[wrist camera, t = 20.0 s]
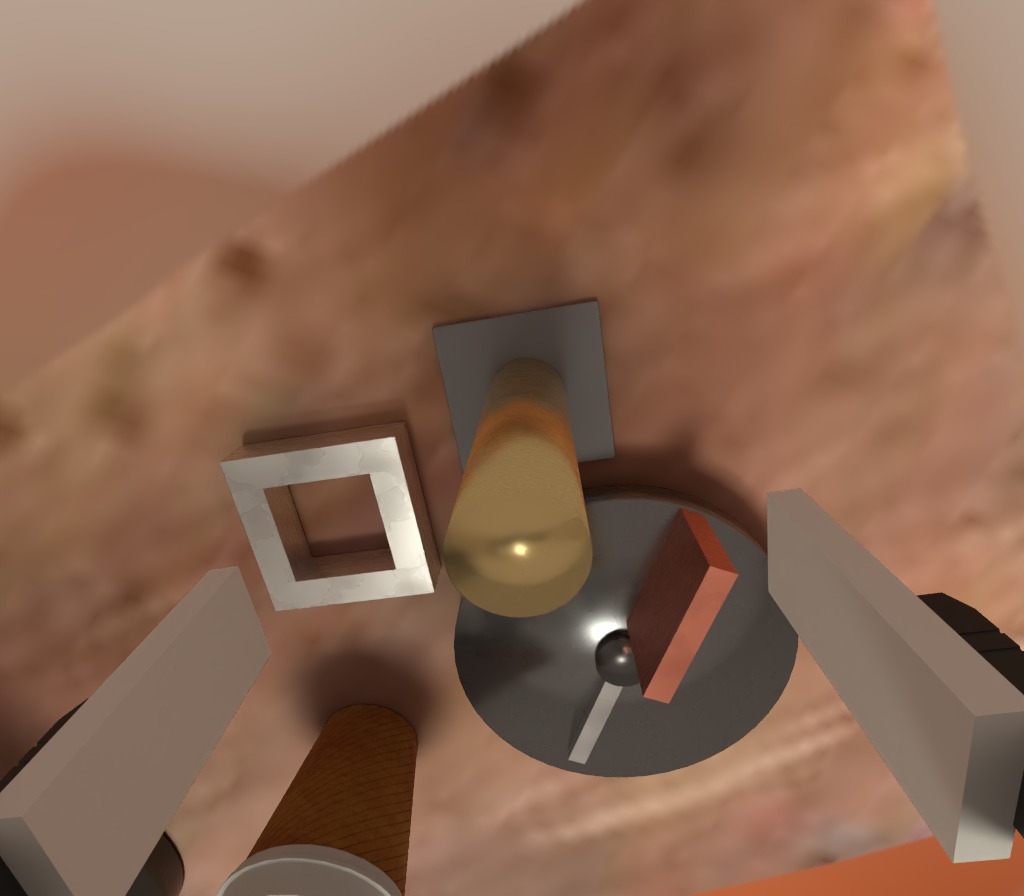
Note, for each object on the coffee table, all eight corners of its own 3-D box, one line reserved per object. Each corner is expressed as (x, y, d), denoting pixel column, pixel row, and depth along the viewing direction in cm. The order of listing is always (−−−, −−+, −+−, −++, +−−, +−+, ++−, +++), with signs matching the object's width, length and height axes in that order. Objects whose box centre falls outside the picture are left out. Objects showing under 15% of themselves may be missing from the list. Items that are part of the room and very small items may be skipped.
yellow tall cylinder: (495, 435, 29) (458, 623, 15) (483, 363, 28) (429, 497, 14) (569, 425, 29) (600, 609, 15) (560, 351, 28) (583, 478, 14)
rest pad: (465, 475, 31) (464, 478, 30) (433, 327, 28) (431, 328, 28) (614, 454, 30) (615, 457, 30) (596, 300, 27) (597, 301, 27)
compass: (700, 777, 36) (737, 899, 29) (425, 704, 35) (399, 815, 28) (844, 541, 30) (931, 631, 23) (512, 441, 28) (505, 506, 22)
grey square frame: (293, 585, 34) (275, 611, 32) (242, 445, 31) (219, 462, 28) (441, 567, 33) (434, 592, 31) (405, 420, 30) (394, 436, 27)
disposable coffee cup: (341, 660, 36) (251, 858, 24) (469, 728, 37) (440, 943, 26) (276, 750, 39) (170, 963, 28) (397, 809, 40) (343, 1033, 29)
